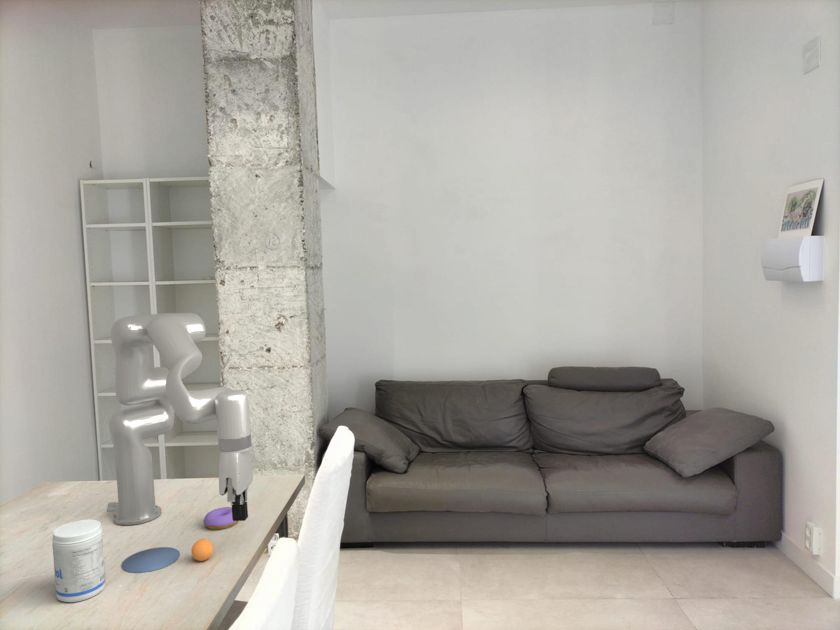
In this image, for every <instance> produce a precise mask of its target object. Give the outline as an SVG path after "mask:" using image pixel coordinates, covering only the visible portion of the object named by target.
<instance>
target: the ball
mask: <svg viewBox="0 0 840 630" xmlns="http://www.w3.org/2000/svg"><path fill="white" fill-rule="evenodd" d="M190 551H191V556H192V558H194V559H195V560H196V561H198V562H203V561H207V560H208V559H209V558H211V556H212V555H213V553H214V544H213V543H212V541H210V540H209V539H207V538H200V539H198V540H196V541H195V542H194V543H193V545H192V547H191V550H190Z"/></svg>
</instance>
